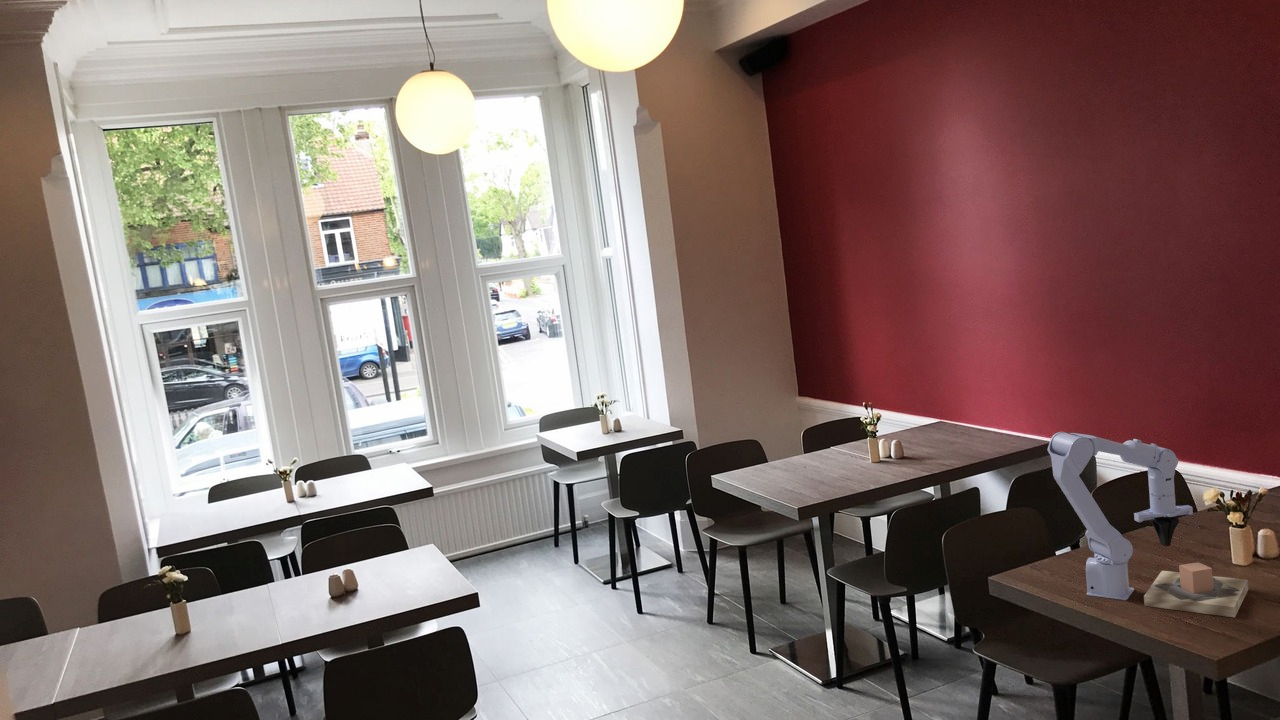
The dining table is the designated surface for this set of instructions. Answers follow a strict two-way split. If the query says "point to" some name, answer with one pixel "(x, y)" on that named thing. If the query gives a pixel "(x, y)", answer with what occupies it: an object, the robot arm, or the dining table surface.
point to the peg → (1196, 578)
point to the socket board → (1197, 595)
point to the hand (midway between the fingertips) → (1165, 544)
